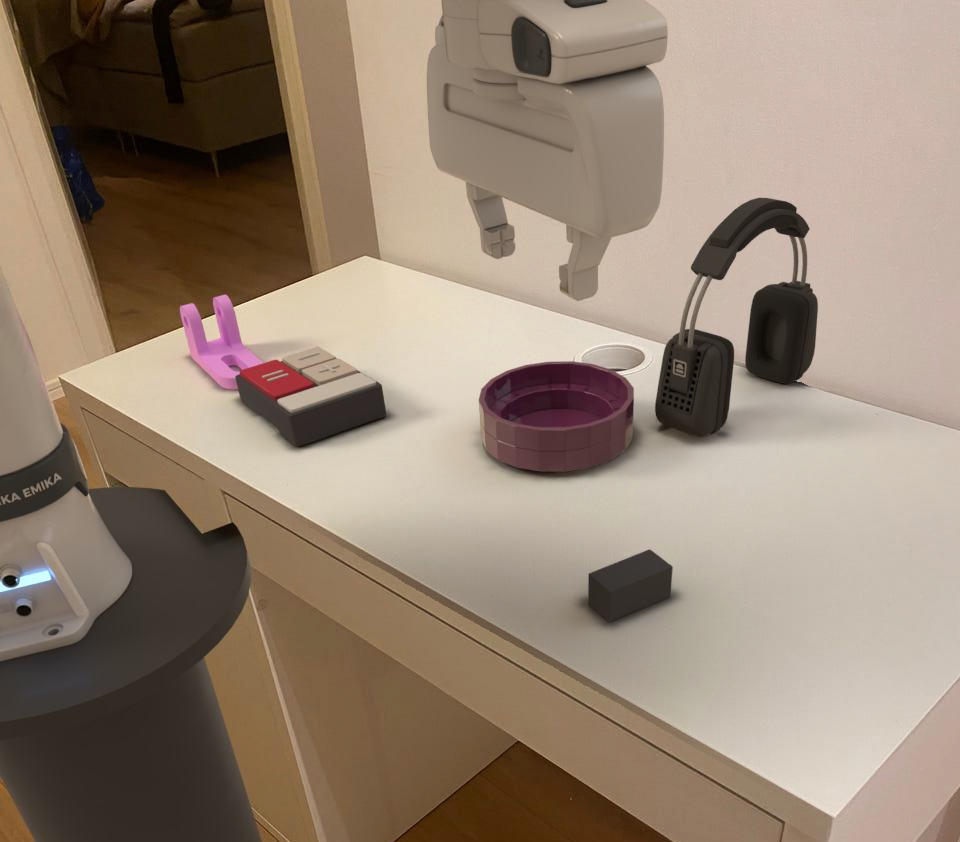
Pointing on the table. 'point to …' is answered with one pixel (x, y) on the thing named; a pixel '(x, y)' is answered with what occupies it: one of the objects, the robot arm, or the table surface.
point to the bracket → (218, 343)
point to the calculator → (311, 395)
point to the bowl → (556, 416)
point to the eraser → (629, 585)
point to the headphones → (771, 335)
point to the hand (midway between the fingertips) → (536, 274)
